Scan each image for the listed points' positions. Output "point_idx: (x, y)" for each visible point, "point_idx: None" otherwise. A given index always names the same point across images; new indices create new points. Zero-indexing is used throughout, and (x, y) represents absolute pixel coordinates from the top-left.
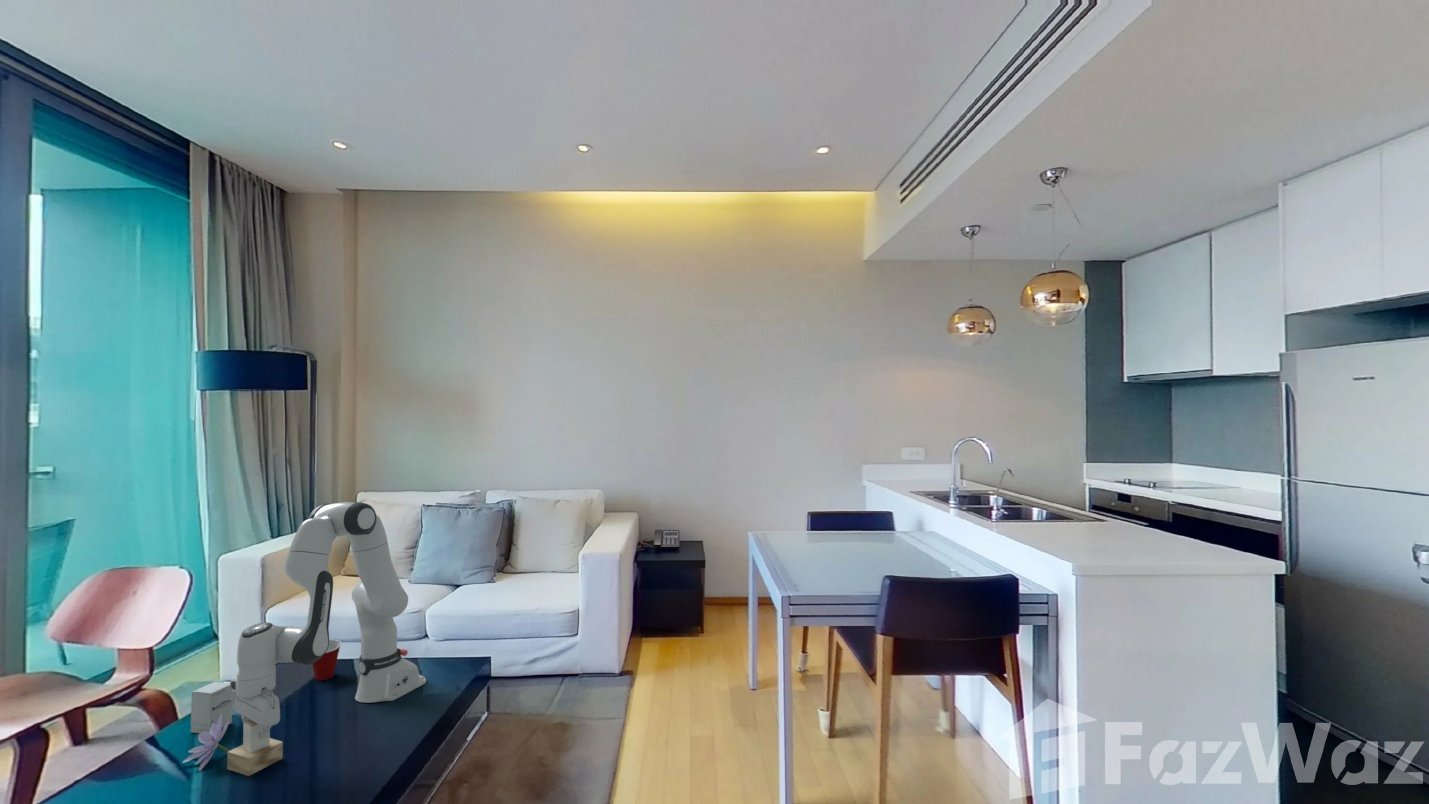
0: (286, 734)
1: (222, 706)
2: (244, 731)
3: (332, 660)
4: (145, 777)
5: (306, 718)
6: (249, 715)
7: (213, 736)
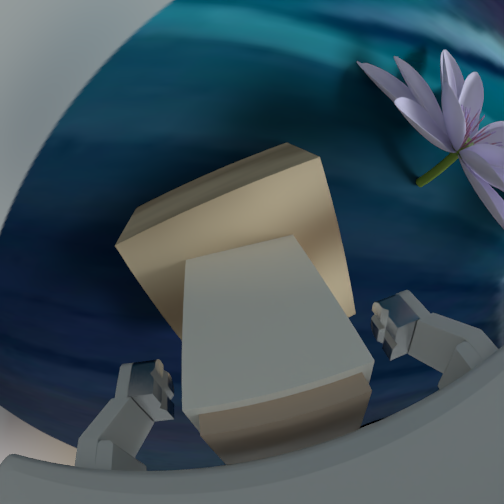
0: (372, 332)
1: None
2: (317, 312)
3: None
4: None
5: (403, 363)
6: (294, 500)
7: (484, 144)
